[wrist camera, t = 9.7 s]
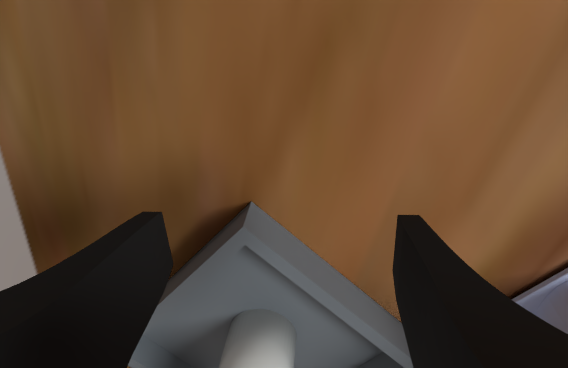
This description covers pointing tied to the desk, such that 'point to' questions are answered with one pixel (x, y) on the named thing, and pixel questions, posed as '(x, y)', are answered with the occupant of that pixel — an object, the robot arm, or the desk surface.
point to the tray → (267, 304)
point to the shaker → (259, 341)
